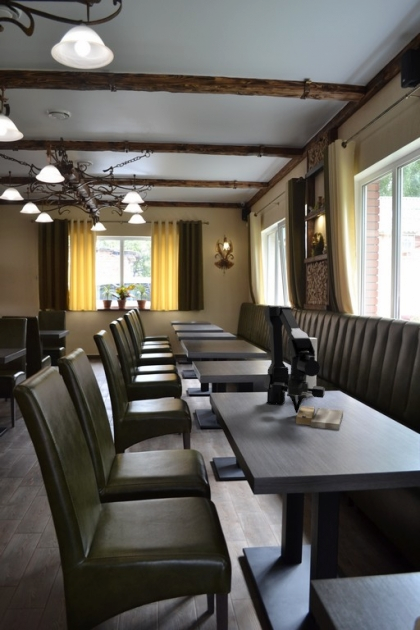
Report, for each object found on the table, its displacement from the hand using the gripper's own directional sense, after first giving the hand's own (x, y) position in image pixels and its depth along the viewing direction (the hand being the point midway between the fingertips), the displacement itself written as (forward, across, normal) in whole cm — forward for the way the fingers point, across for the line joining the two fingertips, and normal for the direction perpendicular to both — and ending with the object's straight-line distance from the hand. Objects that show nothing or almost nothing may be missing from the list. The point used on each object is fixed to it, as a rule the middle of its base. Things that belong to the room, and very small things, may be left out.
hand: (296, 412), depth 172 cm
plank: (+1, +4, -4) cm, 6 cm away
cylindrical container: (+2, -1, +38) cm, 38 cm away
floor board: (0, +11, -4) cm, 12 cm away
